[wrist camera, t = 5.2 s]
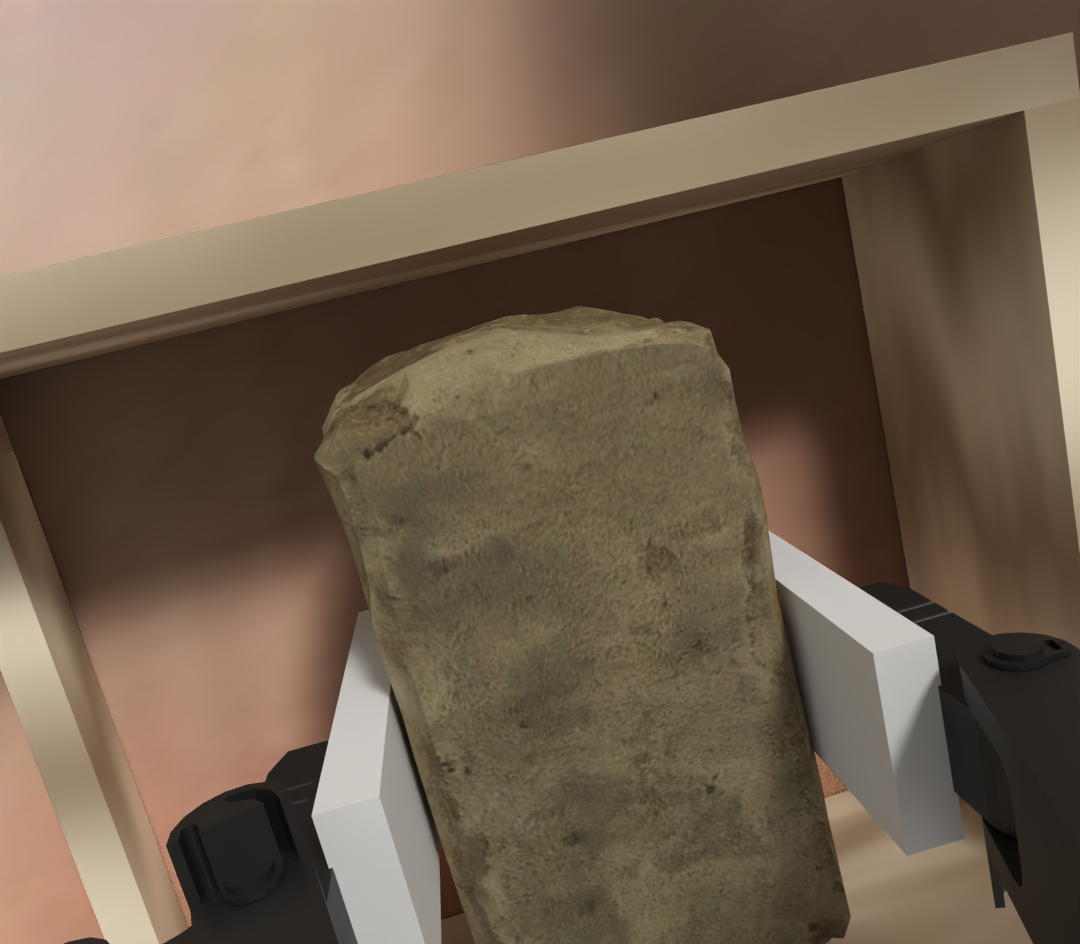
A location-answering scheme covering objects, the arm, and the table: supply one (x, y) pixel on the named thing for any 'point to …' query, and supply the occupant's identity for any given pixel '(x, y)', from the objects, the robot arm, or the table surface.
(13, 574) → the slotted box
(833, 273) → the table surface
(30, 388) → the table surface
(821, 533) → the table surface
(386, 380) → the stone block
